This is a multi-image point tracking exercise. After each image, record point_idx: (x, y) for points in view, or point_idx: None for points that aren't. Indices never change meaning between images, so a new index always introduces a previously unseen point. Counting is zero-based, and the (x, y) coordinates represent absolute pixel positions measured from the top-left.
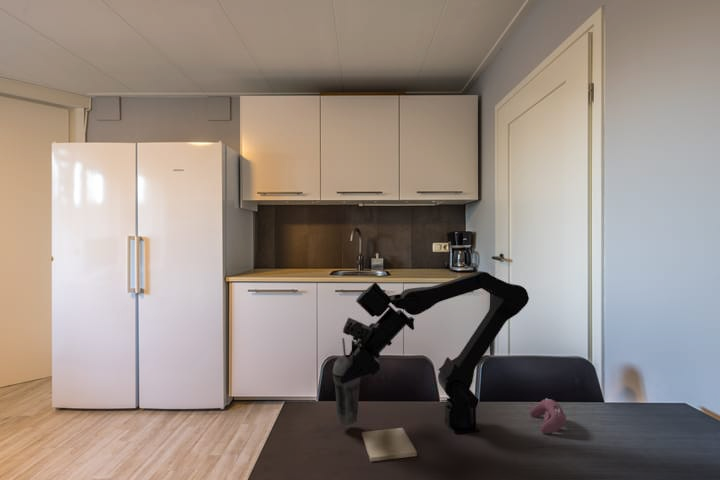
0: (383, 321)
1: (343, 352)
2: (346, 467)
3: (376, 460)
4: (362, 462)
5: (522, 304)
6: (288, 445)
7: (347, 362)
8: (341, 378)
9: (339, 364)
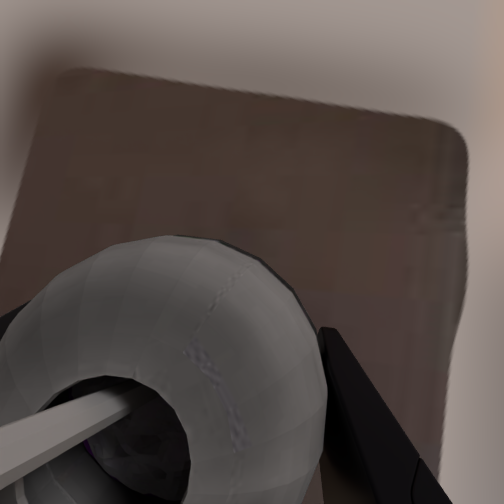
0: None
1: (8, 427)
2: (15, 296)
3: None
4: None
5: None
6: (166, 131)
7: None
8: (21, 306)
9: (35, 298)
